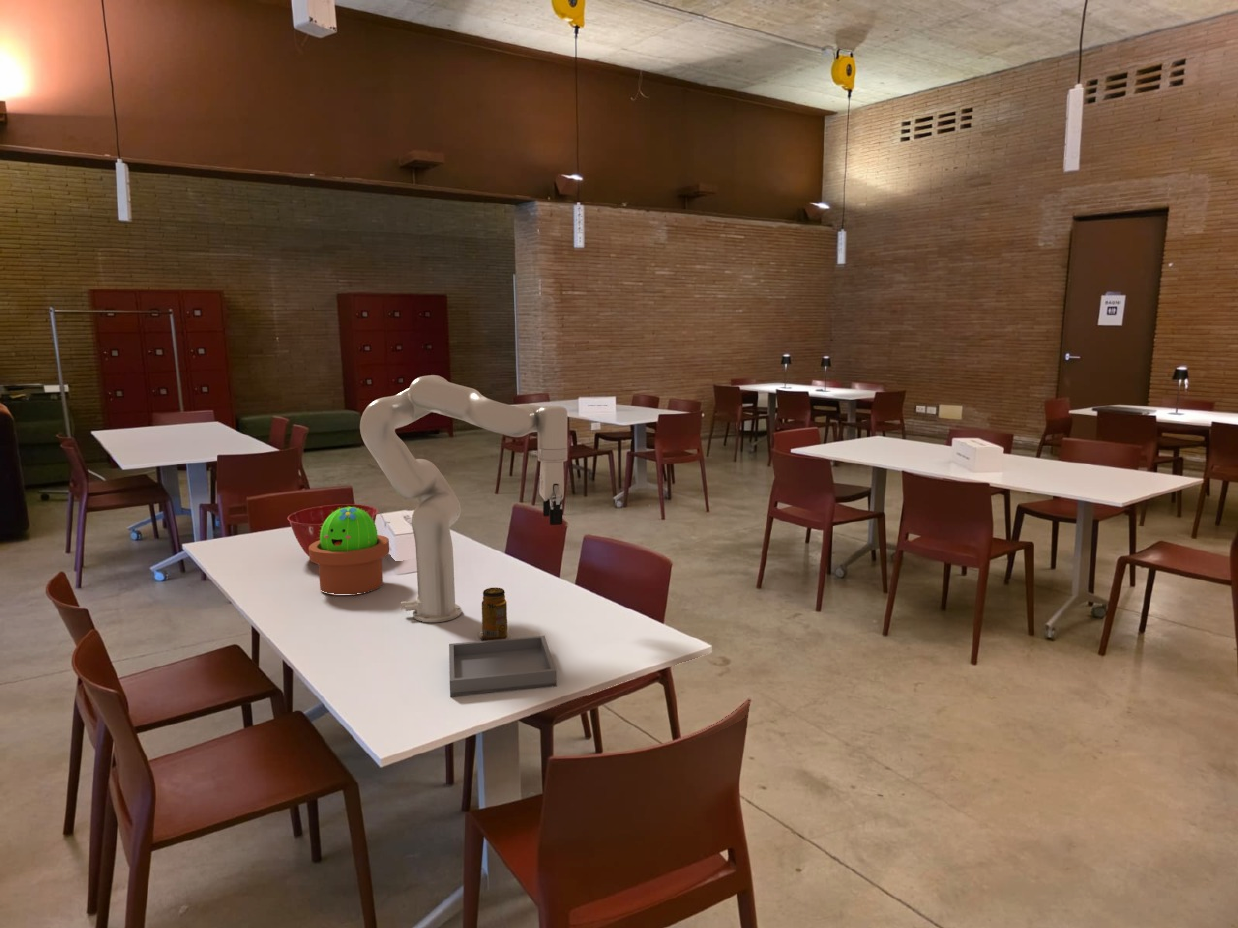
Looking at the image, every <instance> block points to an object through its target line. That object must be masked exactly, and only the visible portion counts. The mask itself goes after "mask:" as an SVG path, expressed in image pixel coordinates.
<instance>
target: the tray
mask: <svg viewBox="0 0 1238 928" xmlns="http://www.w3.org/2000/svg"><path fill="white" fill-rule="evenodd" d="M549 647H550V646H549V644H548V642H547V639H546V636H545V635H535V636H523V637H515V638H514V637H511V638H510V639H499V640H487V641H481V640H477V641H469V642H465V641H464V642H455V643H449V644H448V654H449V655H448V660H449V662H448V664H449V665H448V668H449V669H448V670H449V672H448V673H449V694H450V695H449V696H450V698H453V697H454V698H455V697H463V696H464V697H465V696H470V695H471V696H473V695H483V694H494V693H502V692H512V691H513V692H514V691H521V690H530V689H542V688H553V687H557V684H558V683H557V681H558V680H557V676H558V675H557V668H556V665H555V662H554V659H553V657H552V654H551V651H550V650H551V649H550V648H549ZM552 686H553V687H552Z"/></svg>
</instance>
